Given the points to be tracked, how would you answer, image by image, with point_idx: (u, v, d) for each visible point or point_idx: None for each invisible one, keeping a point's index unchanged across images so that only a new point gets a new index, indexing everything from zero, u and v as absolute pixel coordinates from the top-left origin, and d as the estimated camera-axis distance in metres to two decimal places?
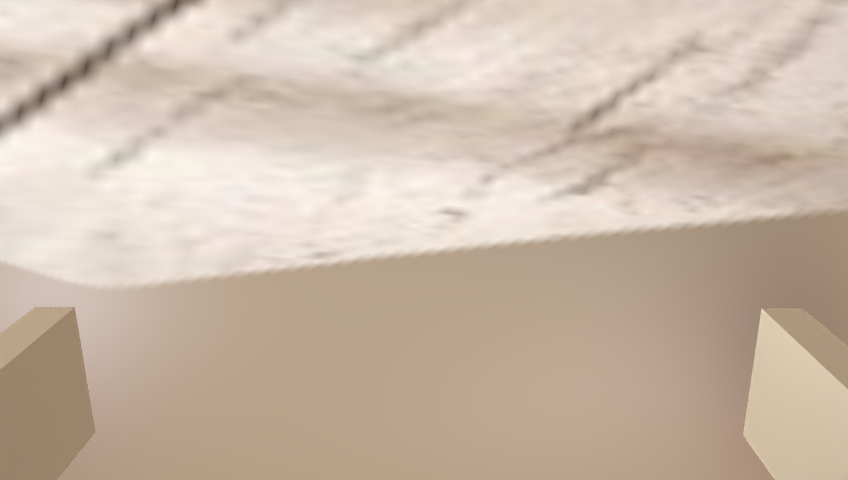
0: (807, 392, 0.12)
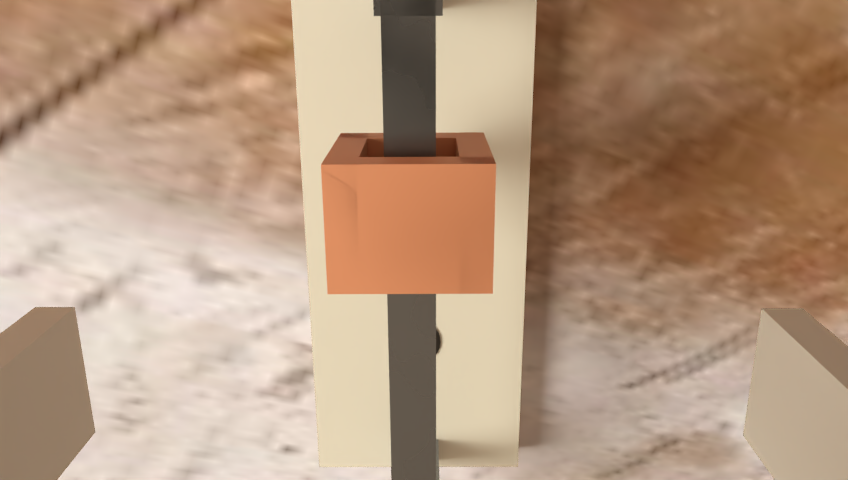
0: (807, 392, 0.12)
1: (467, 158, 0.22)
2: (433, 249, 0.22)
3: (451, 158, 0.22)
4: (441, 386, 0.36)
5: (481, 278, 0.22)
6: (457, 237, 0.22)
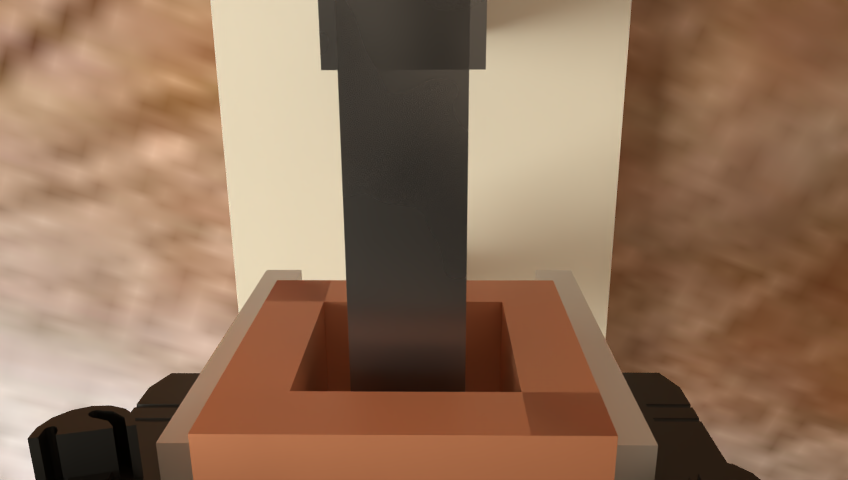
0: None
1: (541, 402, 0.09)
2: None
3: (504, 403, 0.09)
4: None
5: None
6: None
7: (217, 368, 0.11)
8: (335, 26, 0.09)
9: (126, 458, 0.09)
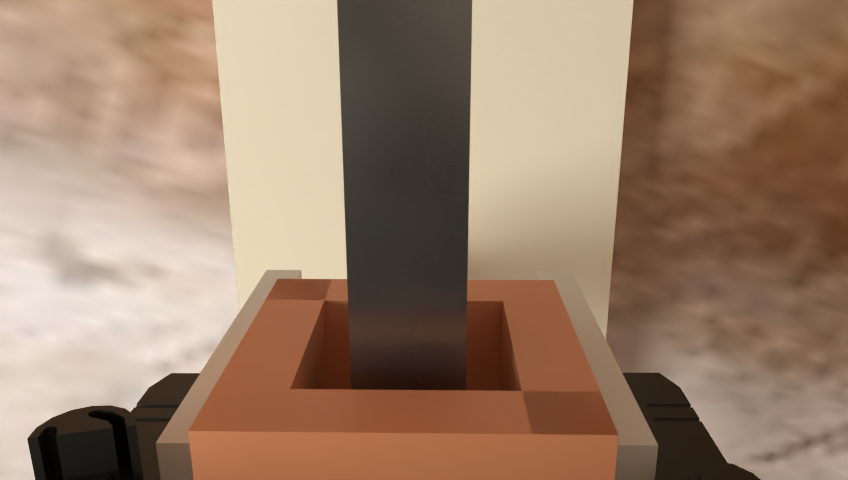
0: None
1: (542, 401, 0.09)
2: None
3: (505, 402, 0.09)
4: None
5: None
6: None
7: (217, 368, 0.11)
8: None
9: (126, 458, 0.09)
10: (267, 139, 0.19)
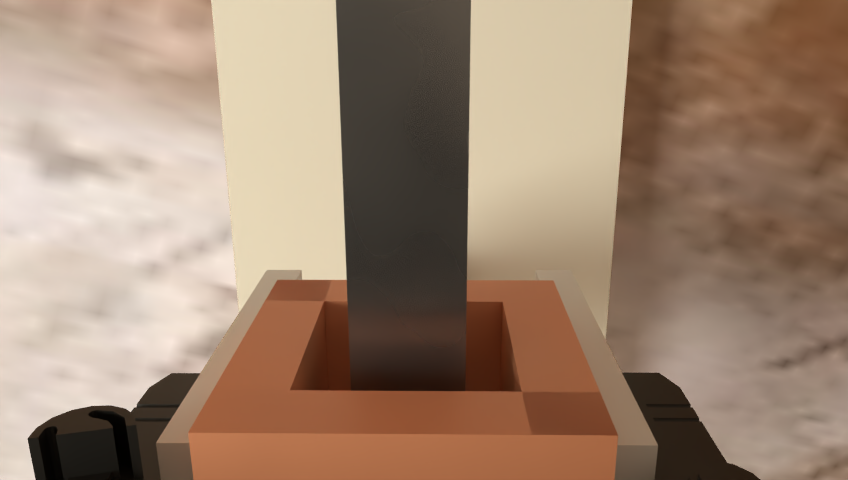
0: None
1: (542, 402, 0.09)
2: None
3: (504, 402, 0.09)
4: None
5: None
6: None
7: (217, 368, 0.11)
8: None
9: (126, 458, 0.09)
10: (257, 5, 0.18)
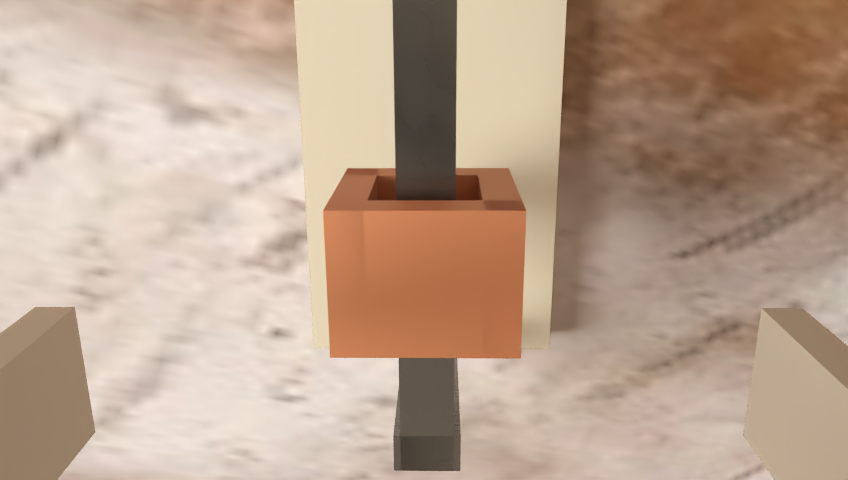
0: (807, 392, 0.12)
1: (492, 203, 0.19)
2: (452, 307, 0.19)
3: (474, 203, 0.19)
4: None
5: (507, 342, 0.19)
6: (480, 294, 0.19)
7: None
8: None
9: None
10: (324, 4, 0.27)
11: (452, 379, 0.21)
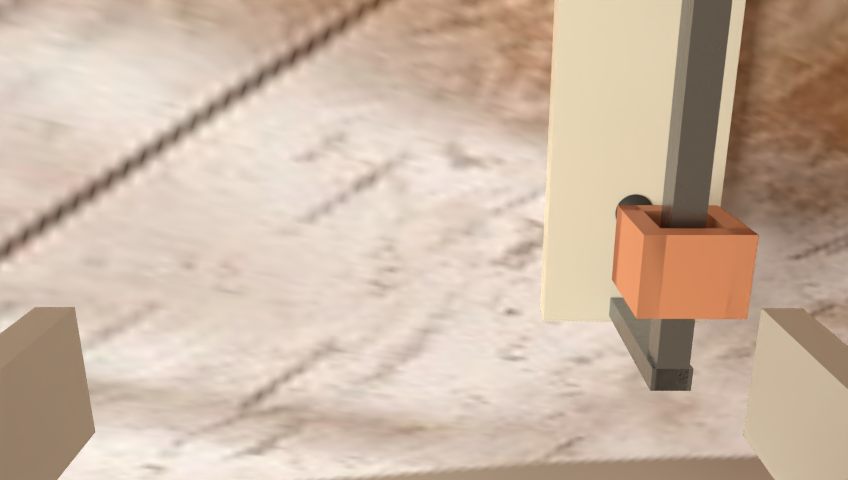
0: (807, 392, 0.12)
1: (734, 230, 0.33)
2: (710, 289, 0.33)
3: (723, 230, 0.33)
4: None
5: (740, 309, 0.33)
6: (727, 282, 0.33)
7: None
8: None
9: None
10: (574, 93, 0.41)
11: (692, 333, 0.35)
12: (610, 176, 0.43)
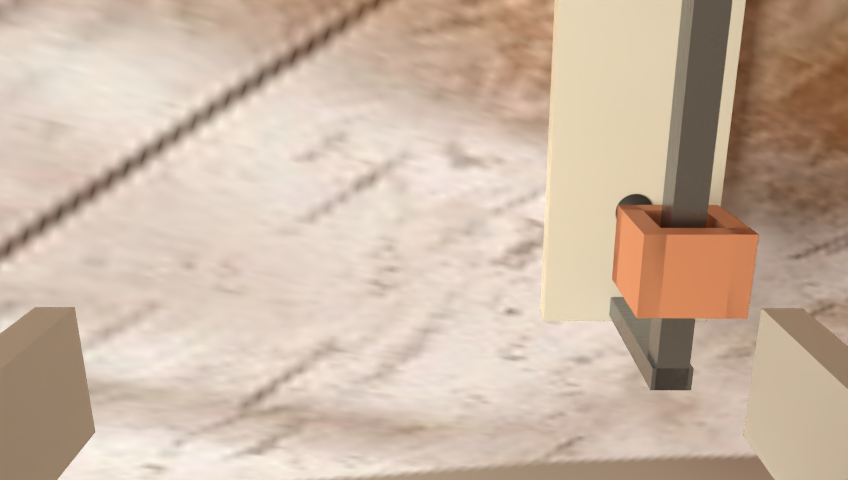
0: (807, 392, 0.12)
1: (734, 229, 0.33)
2: (710, 288, 0.33)
3: (724, 229, 0.33)
4: None
5: (740, 308, 0.33)
6: (728, 281, 0.33)
7: None
8: None
9: None
10: (574, 93, 0.41)
11: (692, 333, 0.35)
12: (610, 176, 0.43)
